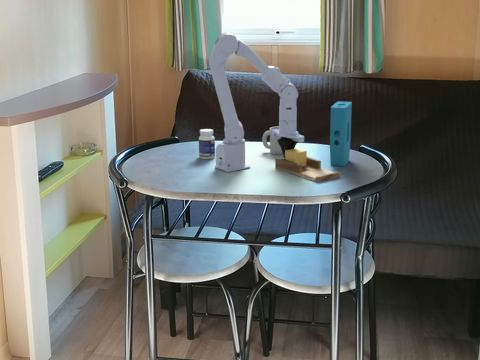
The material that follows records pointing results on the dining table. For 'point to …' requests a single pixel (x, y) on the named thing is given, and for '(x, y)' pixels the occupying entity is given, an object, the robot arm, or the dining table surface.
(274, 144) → the cup
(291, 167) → the chute
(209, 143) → the pill bottle
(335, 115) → the block
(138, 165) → the dining table surface
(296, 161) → the block
